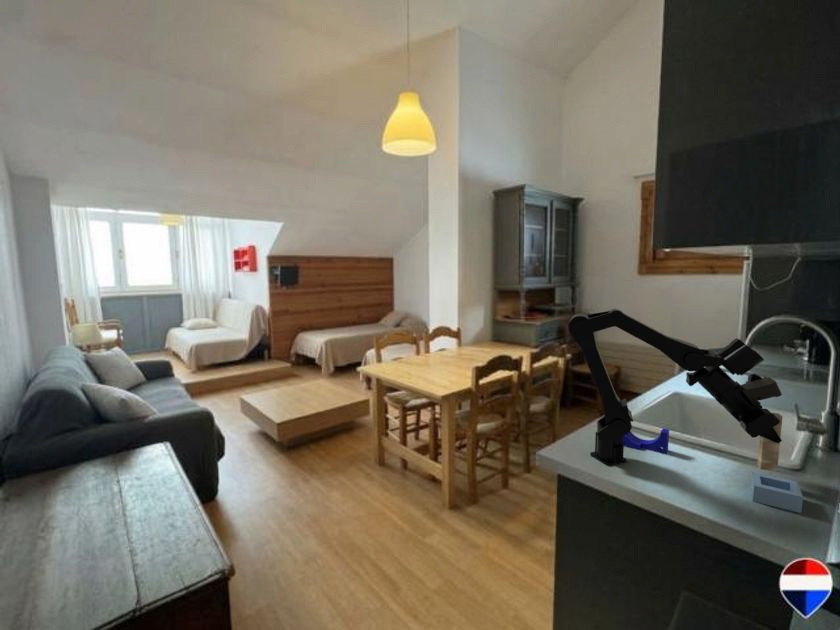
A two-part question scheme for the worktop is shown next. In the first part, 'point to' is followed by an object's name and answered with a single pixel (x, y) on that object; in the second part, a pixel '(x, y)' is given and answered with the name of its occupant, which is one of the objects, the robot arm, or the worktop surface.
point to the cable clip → (648, 442)
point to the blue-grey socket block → (776, 492)
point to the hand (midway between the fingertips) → (777, 439)
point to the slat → (769, 449)
